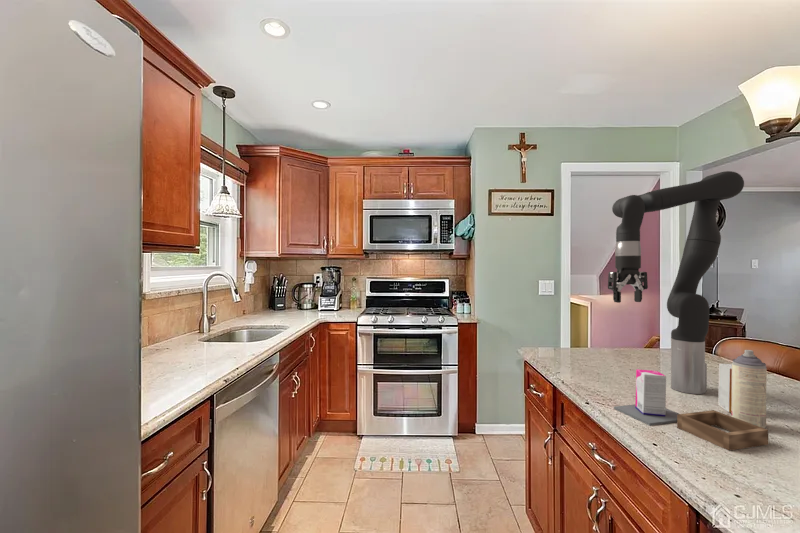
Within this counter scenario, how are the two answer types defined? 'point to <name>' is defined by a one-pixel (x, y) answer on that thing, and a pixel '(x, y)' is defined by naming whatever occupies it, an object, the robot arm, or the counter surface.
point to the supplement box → (650, 392)
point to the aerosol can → (749, 389)
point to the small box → (725, 386)
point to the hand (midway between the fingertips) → (627, 302)
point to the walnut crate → (736, 439)
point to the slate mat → (648, 419)
